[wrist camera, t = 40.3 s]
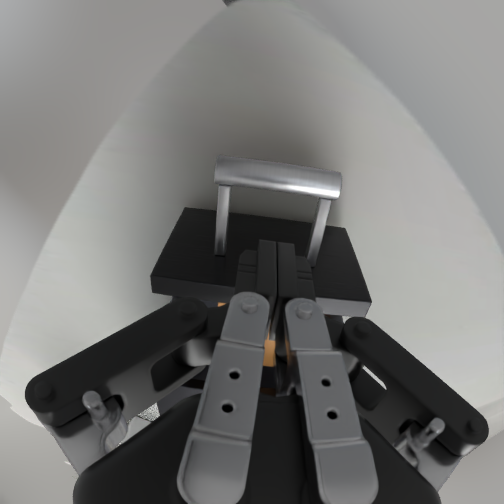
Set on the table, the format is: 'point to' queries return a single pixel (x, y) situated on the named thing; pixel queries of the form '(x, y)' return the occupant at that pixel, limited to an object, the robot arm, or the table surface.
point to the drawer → (247, 238)
